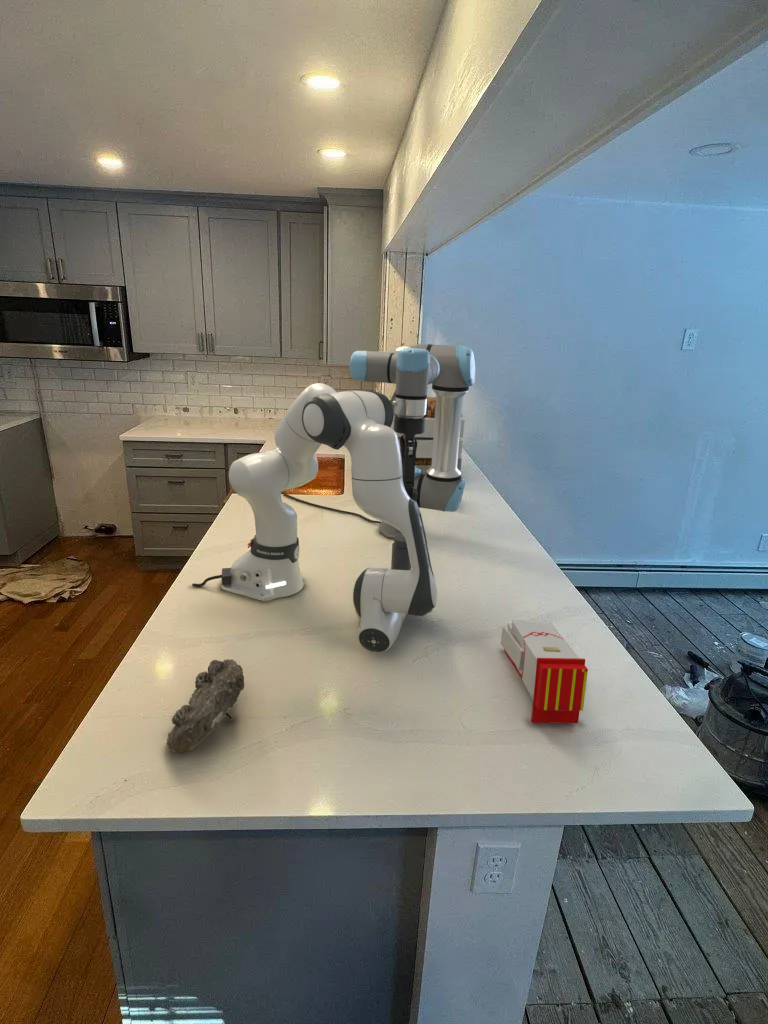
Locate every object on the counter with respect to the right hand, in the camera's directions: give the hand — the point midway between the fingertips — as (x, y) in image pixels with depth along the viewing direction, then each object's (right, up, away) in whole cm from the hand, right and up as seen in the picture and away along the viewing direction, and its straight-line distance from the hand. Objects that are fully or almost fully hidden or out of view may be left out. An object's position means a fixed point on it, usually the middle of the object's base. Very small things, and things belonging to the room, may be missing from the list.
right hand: (404, 506), depth 143 cm
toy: (+28, -38, -20) cm, 51 cm away
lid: (0, +4, -1) cm, 4 cm away
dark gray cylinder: (-1, -26, +9) cm, 28 cm away
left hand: (-1, -20, +8) cm, 22 cm away
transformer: (+12, +17, +132) cm, 134 cm away
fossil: (-38, -40, -35) cm, 66 cm away
